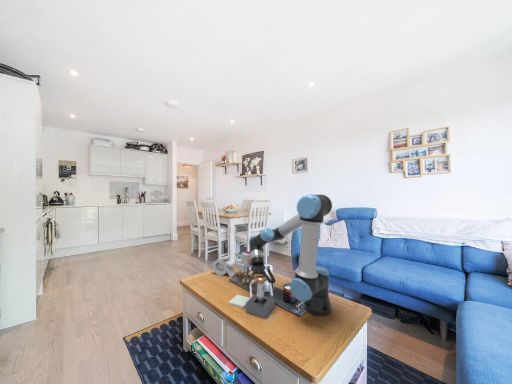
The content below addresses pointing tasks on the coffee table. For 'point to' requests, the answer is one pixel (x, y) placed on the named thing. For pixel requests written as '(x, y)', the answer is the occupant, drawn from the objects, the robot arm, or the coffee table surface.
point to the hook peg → (260, 288)
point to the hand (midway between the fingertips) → (261, 296)
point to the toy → (243, 262)
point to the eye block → (260, 306)
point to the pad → (239, 301)
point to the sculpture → (224, 266)
